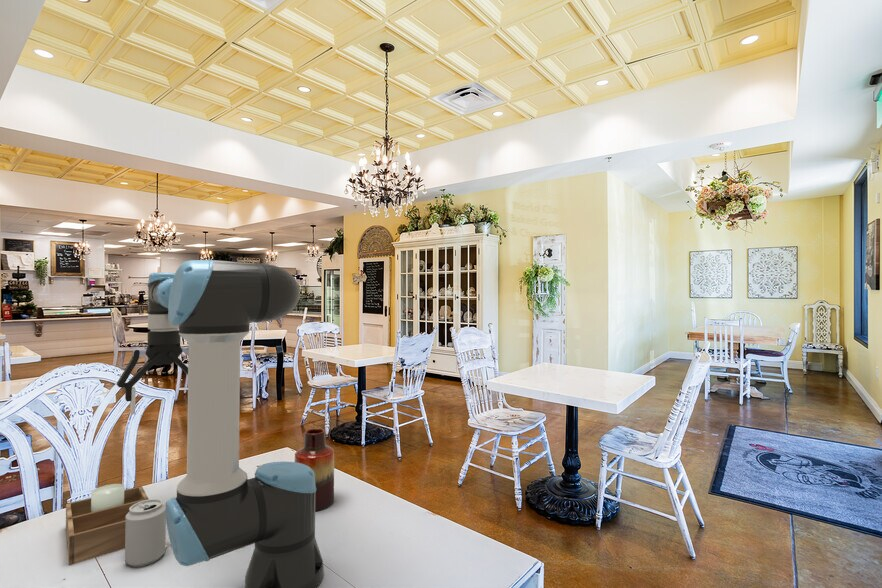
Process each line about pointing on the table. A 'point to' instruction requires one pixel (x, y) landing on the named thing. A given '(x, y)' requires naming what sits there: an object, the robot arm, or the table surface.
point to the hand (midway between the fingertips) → (163, 409)
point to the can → (145, 532)
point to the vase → (319, 466)
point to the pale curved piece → (107, 497)
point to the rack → (98, 527)
